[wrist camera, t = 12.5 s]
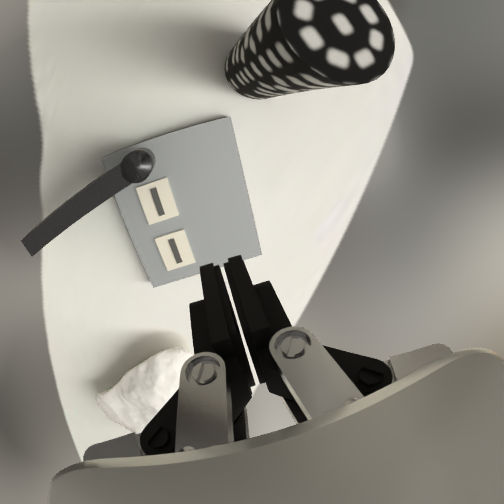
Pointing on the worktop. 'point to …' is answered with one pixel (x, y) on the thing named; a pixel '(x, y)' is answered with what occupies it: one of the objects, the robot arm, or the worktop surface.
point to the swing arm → (91, 197)
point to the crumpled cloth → (144, 389)
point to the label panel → (189, 203)
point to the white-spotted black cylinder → (311, 47)
